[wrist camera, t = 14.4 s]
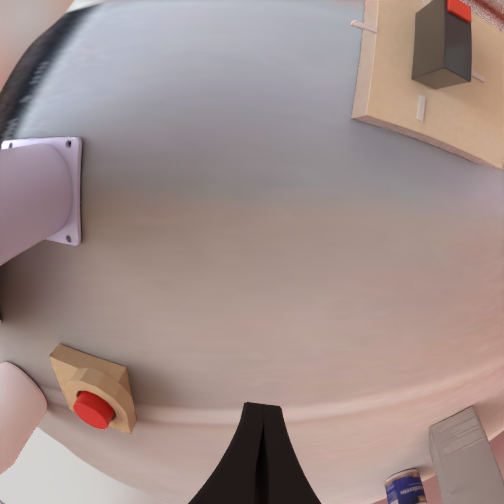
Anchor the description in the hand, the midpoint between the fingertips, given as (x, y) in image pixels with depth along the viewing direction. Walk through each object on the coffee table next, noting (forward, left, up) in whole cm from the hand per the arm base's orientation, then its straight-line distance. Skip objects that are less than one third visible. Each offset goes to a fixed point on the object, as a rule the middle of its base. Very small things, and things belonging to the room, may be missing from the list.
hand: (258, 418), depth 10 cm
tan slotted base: (+8, +17, -10) cm, 21 cm away
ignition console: (-15, -15, -10) cm, 24 cm away
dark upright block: (+6, +17, -7) cm, 19 cm away
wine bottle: (-30, -23, -11) cm, 39 cm away
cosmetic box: (+27, -17, -11) cm, 34 cm away
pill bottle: (+27, -30, -11) cm, 42 cm away
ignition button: (-13, -13, -7) cm, 20 cm away
